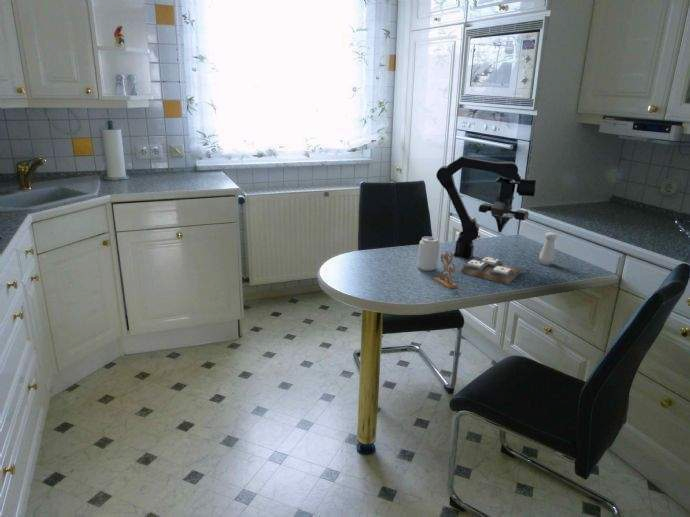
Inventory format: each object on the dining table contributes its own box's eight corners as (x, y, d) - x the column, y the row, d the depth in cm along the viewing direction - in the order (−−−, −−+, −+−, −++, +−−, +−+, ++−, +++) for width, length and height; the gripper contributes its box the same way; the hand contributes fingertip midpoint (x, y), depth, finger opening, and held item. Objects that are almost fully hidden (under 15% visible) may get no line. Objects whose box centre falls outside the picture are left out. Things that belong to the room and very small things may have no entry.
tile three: (466, 267, 194) (467, 262, 193) (471, 263, 198) (472, 259, 197) (479, 270, 191) (480, 265, 191) (484, 267, 195) (484, 262, 195)
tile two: (481, 264, 198) (482, 259, 198) (485, 260, 202) (486, 256, 202) (493, 267, 196) (494, 262, 195) (497, 263, 200) (498, 259, 199)
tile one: (492, 273, 189) (493, 268, 188) (496, 270, 193) (497, 265, 192) (506, 277, 186) (506, 272, 186) (510, 273, 190) (510, 268, 190)
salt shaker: (553, 266, 207) (560, 235, 203) (539, 264, 208) (545, 234, 204) (551, 262, 213) (557, 232, 208) (537, 260, 214) (542, 230, 209)
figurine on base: (457, 287, 179) (462, 255, 175) (448, 288, 178) (453, 256, 174) (442, 278, 187) (446, 247, 183) (433, 279, 185) (437, 248, 181)
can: (438, 267, 198) (442, 237, 194) (433, 273, 192) (437, 242, 188) (420, 263, 201) (423, 234, 197) (414, 269, 194) (417, 239, 190)
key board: (461, 272, 194) (462, 264, 193) (474, 262, 206) (475, 255, 205) (507, 284, 185) (509, 276, 184) (519, 273, 197) (521, 265, 196)
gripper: (475, 192, 201) (470, 231, 206) (522, 201, 190) (515, 241, 195) (486, 189, 209) (481, 226, 214) (532, 197, 199) (525, 235, 204)
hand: (499, 232), depth 207 cm, fingers closed
